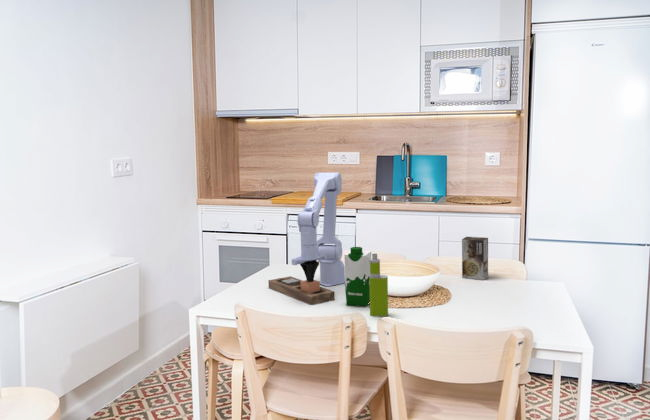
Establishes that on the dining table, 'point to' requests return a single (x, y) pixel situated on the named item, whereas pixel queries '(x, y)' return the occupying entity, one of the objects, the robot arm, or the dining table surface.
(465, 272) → the coffee box
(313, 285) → the salmon pink cube
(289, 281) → the silver metal block
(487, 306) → the dining table surface
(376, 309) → the vape
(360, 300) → the milk carton
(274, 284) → the brown ladder-shaped frame
